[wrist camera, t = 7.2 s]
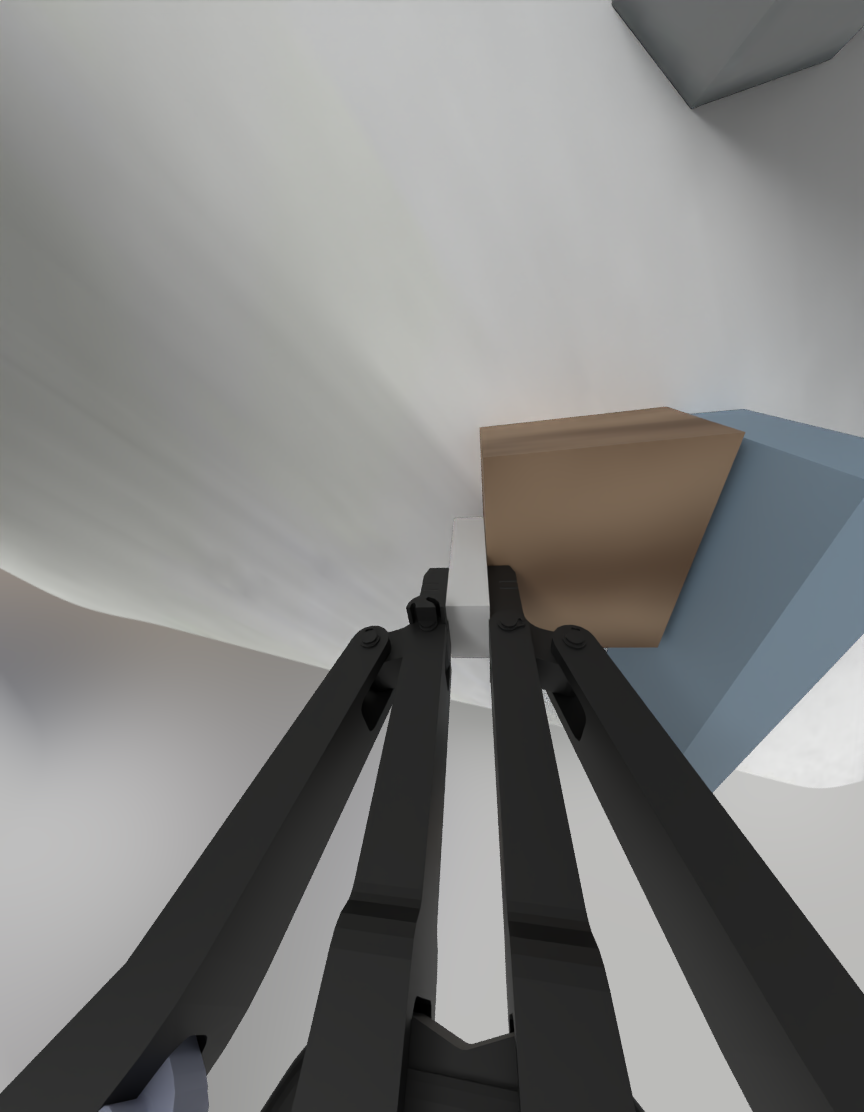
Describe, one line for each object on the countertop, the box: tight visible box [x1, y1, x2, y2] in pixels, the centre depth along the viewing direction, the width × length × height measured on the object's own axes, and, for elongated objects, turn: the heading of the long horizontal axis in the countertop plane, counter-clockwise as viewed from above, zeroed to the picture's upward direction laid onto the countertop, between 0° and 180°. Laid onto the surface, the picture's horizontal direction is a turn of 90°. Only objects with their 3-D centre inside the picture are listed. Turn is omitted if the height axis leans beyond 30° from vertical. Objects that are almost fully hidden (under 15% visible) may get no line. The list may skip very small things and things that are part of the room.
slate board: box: [607, 409, 864, 793], centre depth 16 cm, size 22×2×8 cm, turn 6°
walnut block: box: [480, 407, 745, 648], centre depth 15 cm, size 10×8×5 cm
